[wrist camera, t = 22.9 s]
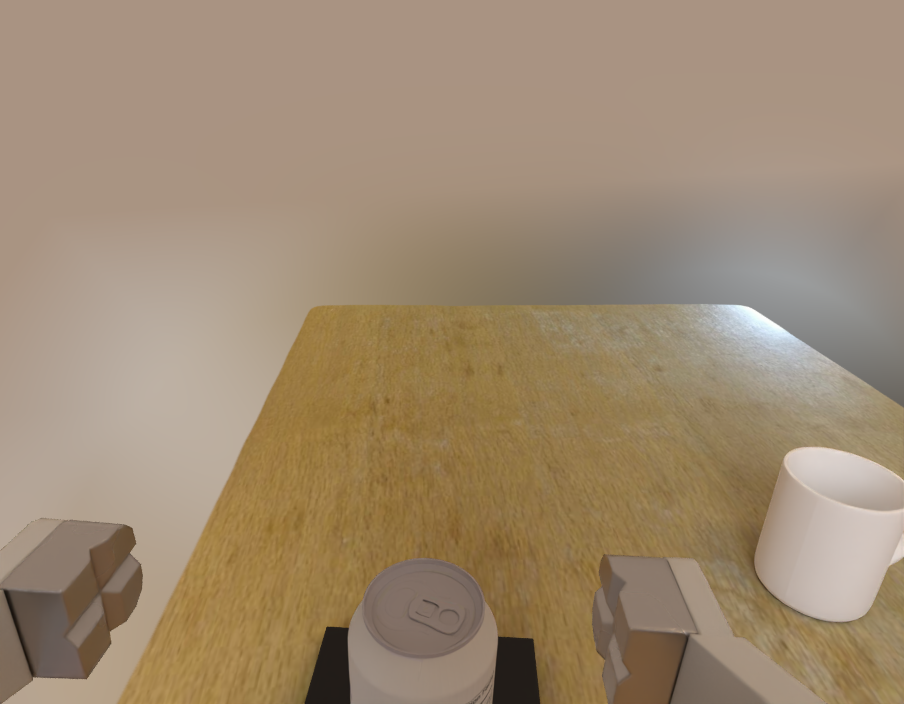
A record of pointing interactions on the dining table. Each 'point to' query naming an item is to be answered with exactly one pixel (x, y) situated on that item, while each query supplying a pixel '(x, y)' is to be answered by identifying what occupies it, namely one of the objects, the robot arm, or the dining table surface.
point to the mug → (830, 533)
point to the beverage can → (422, 638)
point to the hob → (511, 683)
